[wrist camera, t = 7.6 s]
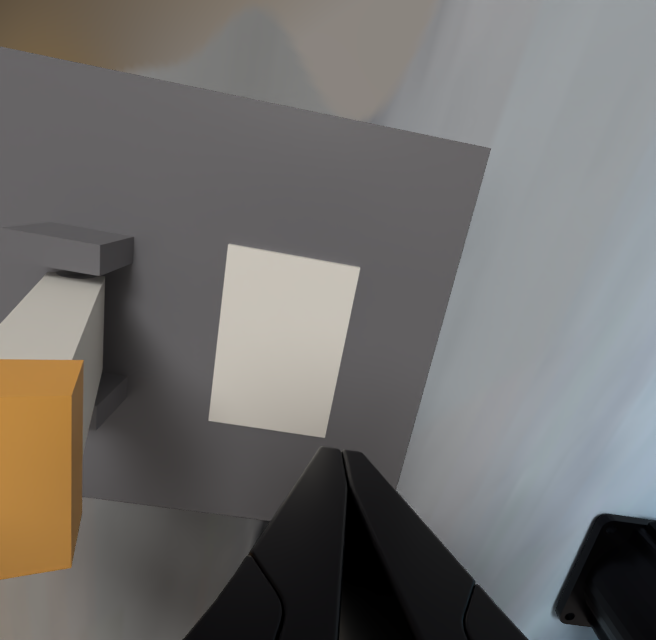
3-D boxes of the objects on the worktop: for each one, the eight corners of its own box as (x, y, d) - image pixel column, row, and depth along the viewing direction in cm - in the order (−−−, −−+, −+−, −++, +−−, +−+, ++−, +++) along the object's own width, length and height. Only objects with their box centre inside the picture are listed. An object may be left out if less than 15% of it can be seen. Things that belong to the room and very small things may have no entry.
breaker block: (373, 482, 19) (392, 582, 14) (-148, 410, 17) (-330, 495, 12) (457, 156, 15) (524, 140, 10) (-216, 19, 13) (-526, -81, 8)
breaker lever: (111, 365, 13) (70, 568, 7) (45, 365, 13) (-71, 591, 6) (114, 269, 13) (71, 395, 6) (43, 263, 12) (-97, 399, 5)
